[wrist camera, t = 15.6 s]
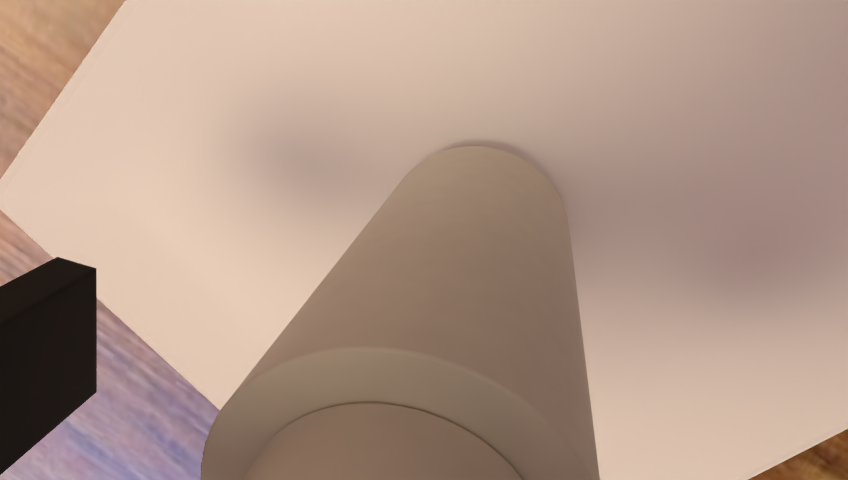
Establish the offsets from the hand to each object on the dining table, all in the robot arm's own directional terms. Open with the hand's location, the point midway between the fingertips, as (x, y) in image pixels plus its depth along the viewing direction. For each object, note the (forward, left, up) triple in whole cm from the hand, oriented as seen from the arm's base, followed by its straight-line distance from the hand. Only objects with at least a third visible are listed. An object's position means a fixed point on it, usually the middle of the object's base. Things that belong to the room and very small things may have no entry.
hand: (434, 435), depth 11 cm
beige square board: (0, 0, -12) cm, 12 cm away
